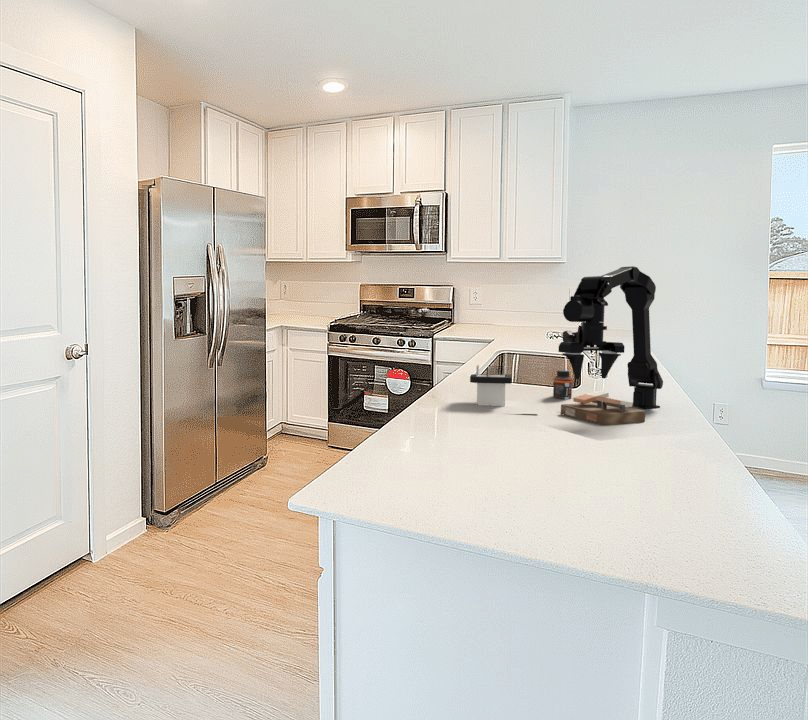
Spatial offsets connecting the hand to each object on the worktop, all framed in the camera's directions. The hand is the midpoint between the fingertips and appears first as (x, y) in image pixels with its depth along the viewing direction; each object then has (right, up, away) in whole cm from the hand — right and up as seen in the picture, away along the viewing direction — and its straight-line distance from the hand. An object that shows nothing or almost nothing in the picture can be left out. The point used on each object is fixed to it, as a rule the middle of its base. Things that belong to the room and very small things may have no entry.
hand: (590, 378), depth 163 cm
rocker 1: (+4, -7, +12) cm, 15 cm away
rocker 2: (+8, -8, +4) cm, 12 cm away
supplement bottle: (+1, -10, +34) cm, 35 cm away
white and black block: (-24, -10, +26) cm, 37 cm away
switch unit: (+6, -12, +8) cm, 16 cm away
